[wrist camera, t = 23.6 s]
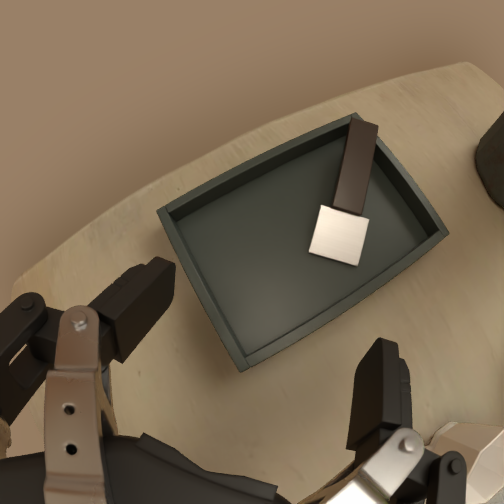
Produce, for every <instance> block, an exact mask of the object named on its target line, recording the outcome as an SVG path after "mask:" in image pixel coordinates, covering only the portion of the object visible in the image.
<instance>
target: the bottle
mask: <svg viewBox="0 0 504 504" xmlns="http://www.w3.org/2000/svg"><path fill="white" fill-rule="evenodd" d="M476 164H477V169H478V172H479V174H480V176H481V178H482V180H483V182H484V184H485V186H486V188H487V190H488V192H489V194H490V195H491V196H492V198H493V199H494V200H495V201H496V203H498V204H499V205H501V206H503V207H504V112H503V113H502V114H501V115H500V117H499V118H498V119H497V120H496V121H495V123H494V124H493V125H492V126H491V127H490V129H489V130H488V131H487V132H486V133H485V134H484V136H483V137H482V138H481V139H480V142H479V146H478V150H477V153H476Z"/></svg>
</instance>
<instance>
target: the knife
mask: <svg viewBox="0 0 504 504" xmlns="http://www.w3.org/2000/svg"><path fill="white" fill-rule="evenodd" d="M377 133H378V125H375V124H372V123H369V122H366V121H363V120H360V119H357V118H353V117H352V118H351V120H350V123H349V126H348V131H347V135H346V140H345V145H344V150H343V154H342V159H341V163H340V168H339V172H338V177H337V181H336V185H335V189H334V194H333V198H332V202H331V206H330V207H327V206H324V205H321V206H320V210H319V214H318V218H317V222H316V225H315V229H314V233H313V236H312V240H311V244H310V247H309V251H308V252H309V253H312V254H315V255H319V256H322V257H325V258H329V259H332V260H336V261H339V262H343V263H346V264H349V265H353V266H356V267H357V266H358V263H359V260H360V256H361V252H362V248H363V244H364V240H365V236H366V232H367V228H368V223H369V219H367V218H364V217H360V216H361V215H362V212H363V207H364V203H365V198H366V194H367V189H368V184H369V179H370V174H371V168H372V163H373V157H374V152H375V146H376V140H377Z"/></svg>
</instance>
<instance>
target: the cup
mask: <svg viewBox="0 0 504 504" xmlns="http://www.w3.org/2000/svg"><path fill="white" fill-rule="evenodd" d="M424 448H426V449H428V450H430V451H432V452H434V453H436V454H438V455H440V456H442V455H443V454H445V453H446V452H448V451H457V452H459V453H460V454H461V455H462V456H463V457H464V459H465V461H466V465H467V482H466V501H465V504H484V503H486V502H487V501H488V500H489V499H491V498H492V497H493V496H494V495H495V494H496V493H497V492H498V491H499V490H501V489H502V488H503V487H504V427H503V426H490V425H482V424H474V423H456V422H448V423H447V424H446V425H444V426H443V427H442V428H440V429H439V430H438V431H436V432H435V434H434V436H433V438H432V440H431V442H430V445H427V446H424Z"/></svg>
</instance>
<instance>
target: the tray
mask: <svg viewBox="0 0 504 504" xmlns="http://www.w3.org/2000/svg"><path fill="white" fill-rule="evenodd" d="M352 117H353V118H357V119H360V120H363V119H362V118H361V117H360V116H359V115H358V114H357V113H356V112H355V113H353V114H350V115H348V116H346V117H343V118H341V119H338V120H336V121H333V122H331V123H329V124H326V125H324V126H321V127H319V128H317V129H314V130H312V131H310V132H308V133H305V134H303V135H301V136H299V137H296V138H294V139H292V140H290V141H288V142H285V143H283V144H281V145H279V146H277V147H275V148H273V149H270V150H268V151H266V152H264V153H262V154H260V155H258V156H256V157H254V158H252V159H250V160H248V161H246V162H244V163H242V164H240V165H238V166H236V167H234V168H232V169H230V170H228V171H226V172H224V173H223V174H221V175H219V176H217V177H215V178H213V179H211V180H209V181H207V182H206V183H204V184H202V185H200V186H198V187H196V188H195V189H193V190H191V191H189V192H187V193H186V194H184V195H182V196H180V197H179V198H177V199H175V200H173V201H172V202H170V203H168V204H167V205H165V206H163V207H161V208H160V209H158V210H157V214H158V216H159V218H160V220H161V223H162V225H163V227H164V229H165V231H166V233H167V236H168V238H169V240H170V242H171V244H172V246H173V248H174V250H175V252H176V254H177V256H178V258H179V261H180V263H181V265H182V267H183V269H184V271H185V273H186V275H187V277H188V279H189V281H190V283H191V285H192V286H193V288H194V290H195V292H196V294H197V296H198V298H199V300H200V302H201V304H202V306H203V308H204V310H205V311H206V313H207V315H208V317H209V319H210V321H211V323H212V324H213V326H214V328H215V330H216V332H217V334H218V335H219V337H220V339H221V341H222V343H223V344H224V346H225V348H226V350H227V351H228V353H229V355H230V357H231V358H232V360H233V362H234V364H235V365H236V367H237V369H238V370H239V372H240V373H241V372H243V371H245V370H247V369H249V368H250V367H253V366H255V365H257V364H258V363H260V362H262V361H264V360H266V359H267V358H269V357H271V356H273V355H275V354H276V353H278V352H280V351H282V350H283V349H285V348H287V347H289V346H290V345H292V344H294V343H295V342H297V341H299V340H301V339H302V338H304V337H306V336H307V335H309V334H310V333H312V332H314V331H315V330H317V329H319V328H320V327H322V326H323V325H325V324H327V323H328V322H330V321H331V320H333V319H334V318H336V317H338V316H339V315H341V314H342V313H344V312H345V311H347V310H348V309H350V308H351V307H353V306H354V305H356V304H357V303H359V302H360V301H362V300H363V299H365V298H366V297H367V296H369V295H370V294H372V293H373V292H375V291H376V290H377V289H379V288H380V287H382V286H383V285H384V284H386V283H387V282H389V281H390V280H391V279H393V278H394V277H395V276H397V275H398V274H399V273H401V272H402V271H403V270H405V269H406V268H407V267H409V266H410V265H411V264H413V263H414V262H415V261H416V260H418V259H419V258H420V257H422V256H423V255H424V254H425V253H427V252H428V251H429V250H430V249H432V248H433V247H434V246H435V245H437V244H438V243H439V242H440V241H441V240H443V239H444V238H445V237H446V236H447V235H449V231H448V230H447V228H446V227H445V225H444V224H443V222H442V220H441V219H440V217H439V216H438V214H437V213H436V211H435V210H434V208H433V207H432V205H431V204H430V202H429V201H428V199H427V198H426V197H425V195H424V194H423V192H422V191H421V190H420V188H419V187H418V185H417V184H416V183H415V181H414V180H413V179H412V177H411V176H410V175H409V173H408V172H407V171H406V170H405V168H404V167H403V166H402V164H401V163H400V162H399V161H398V159H397V158H396V157H395V156H394V154H393V153H392V152H391V151H390V150H389V148H388V147H387V146H386V145H385V144H384V143H383V141H382V140H381V139H380V138H379V137H378V136H377V140H376V146H375V152H374V157H373V163H372V168H371V174H370V179H369V184H368V189H367V194H366V198H365V203H364V207H363V212H362V215H361V216H360V217H364V218H367V219H369V223H368V228H367V232H366V236H365V240H364V244H363V248H362V252H361V256H360V260H359V263H358V266H357V267H356V266H353V265H349V264H346V263H343V262H339V261H336V260H332V259H329V258H325V257H322V256H319V255H315V254H312V253H309V252H308V251H309V247H310V244H311V240H312V236H313V233H314V229H315V225H316V222H317V218H318V214H319V210H320V206H321V205H324V206H327V207H330V206H331V202H332V198H333V194H334V189H335V185H336V181H337V177H338V172H339V168H340V163H341V159H342V154H343V150H344V145H345V140H346V135H347V131H348V126H349V123H350V120H351V118H352ZM363 121H364V120H363Z"/></svg>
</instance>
